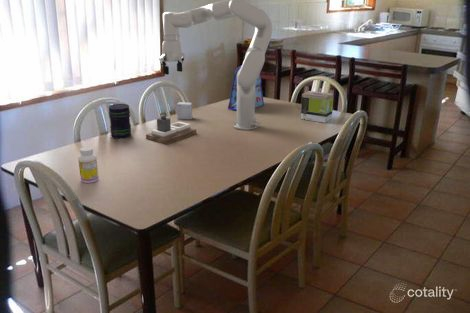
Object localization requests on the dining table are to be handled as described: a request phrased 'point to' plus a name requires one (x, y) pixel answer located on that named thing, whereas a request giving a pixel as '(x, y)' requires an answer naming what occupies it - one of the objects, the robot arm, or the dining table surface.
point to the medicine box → (184, 110)
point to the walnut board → (173, 137)
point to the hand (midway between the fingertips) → (173, 72)
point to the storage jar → (120, 121)
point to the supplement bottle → (88, 165)
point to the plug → (163, 124)
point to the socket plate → (172, 130)
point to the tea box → (317, 106)
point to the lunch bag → (233, 94)
